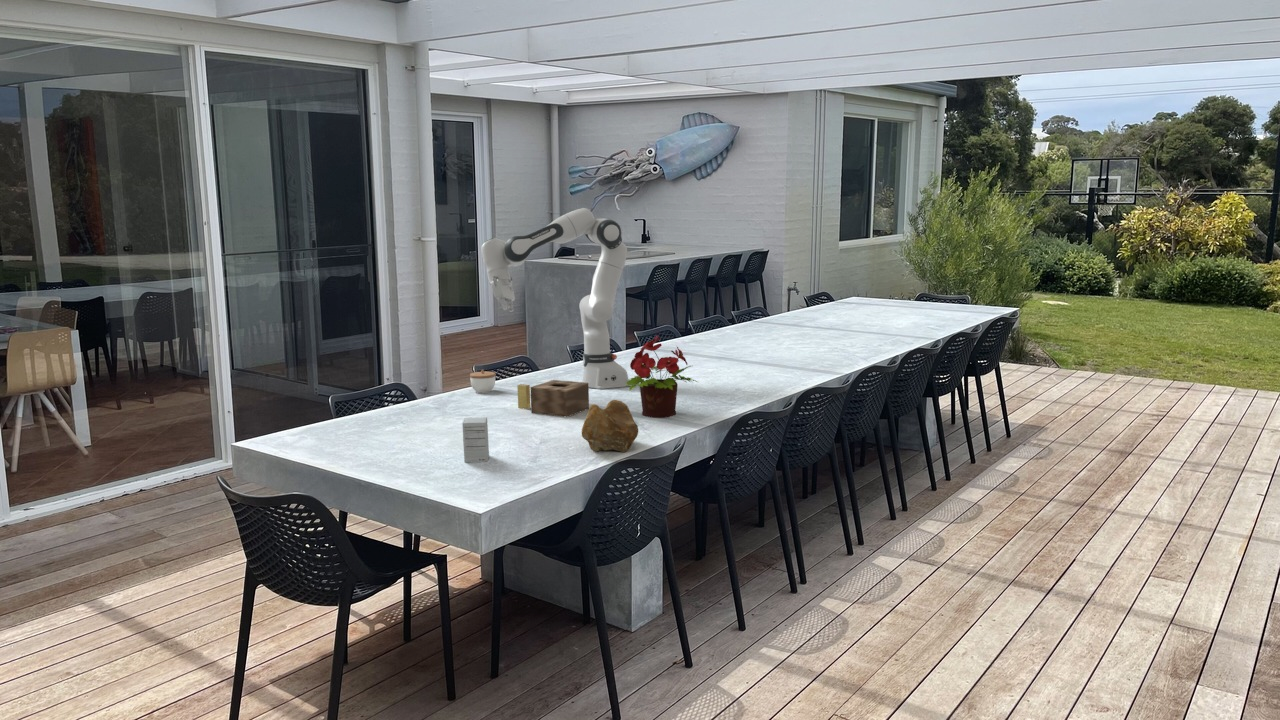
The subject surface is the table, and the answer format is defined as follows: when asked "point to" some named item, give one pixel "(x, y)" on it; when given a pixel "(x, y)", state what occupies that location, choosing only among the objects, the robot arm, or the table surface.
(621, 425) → the rough brown rock
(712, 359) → the table surface
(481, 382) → the lidded jar
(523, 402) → the gold rectangular block
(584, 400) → the box
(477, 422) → the supplement box
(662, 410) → the potted plant
